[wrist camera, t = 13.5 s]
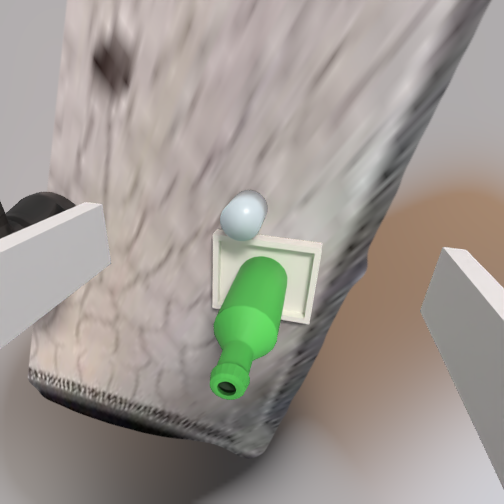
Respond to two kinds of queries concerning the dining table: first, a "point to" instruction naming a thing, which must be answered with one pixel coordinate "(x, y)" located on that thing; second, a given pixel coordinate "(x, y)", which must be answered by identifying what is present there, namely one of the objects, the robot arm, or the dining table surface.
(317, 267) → the tray
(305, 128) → the dining table surface
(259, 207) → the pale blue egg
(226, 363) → the bottle
